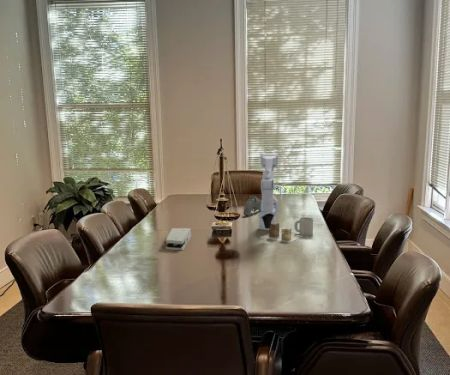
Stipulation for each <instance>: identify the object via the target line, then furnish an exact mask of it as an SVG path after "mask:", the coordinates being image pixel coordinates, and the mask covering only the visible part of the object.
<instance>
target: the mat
mask: <svg viewBox="0 0 450 375" xmlns="http://www.w3.org/2000/svg"><path fill="white" fill-rule="evenodd" d="M281 233H282V231H279V237H278V238H270V237H269V233H268V234H265V235H262V236H259V238H261V239H267V240H273V241H277V242H283V243H292V242H294V241H296V240H298V239H301V238H302V237H304V235H300V234H295V233H291V240H289V241H285V240H281Z"/></svg>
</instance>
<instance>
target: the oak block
mask: <svg viewBox="0 0 450 375" xmlns="http://www.w3.org/2000/svg"><path fill="white" fill-rule="evenodd" d="M281 232H282V233H281V240H285V241H289V240H291V234H292V227H288V226H287V227H285V226H283V227H282V228H281Z"/></svg>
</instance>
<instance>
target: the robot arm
mask: <svg viewBox="0 0 450 375" xmlns="http://www.w3.org/2000/svg"><path fill="white" fill-rule="evenodd" d="M259 155H260V157H259V158H260V160H259V161H260V166H261V168H263V169H264V170H263V171H262V177H261V178H262V179H261V181H260V190H261V200H260V201H261V211H259V212H258V214H257V216H258V228H257V229H258V230H264V231H269V228H270V225H271V223H272V222H275V223H277V217H276V216H277V214H278V213H279V200H278V199H277V198H276V197H275V196H274V189H275V181H274V180H275V179H274V171H275V169H277V168H278V166H279V154H278V153H260V154H259Z"/></svg>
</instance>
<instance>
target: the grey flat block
mask: <svg viewBox="0 0 450 375" xmlns="http://www.w3.org/2000/svg"><path fill="white" fill-rule="evenodd" d="M191 238H192V228H188V227H187V228H185V227H184V228H181V227H180V228H176V227H175V228H173V227H172V228H171V229H170V232H169V233H168V235H167V236H166V239H165V242H166V245H165V248H166V249H167V250H173V251H174V250H175V251H183V250H184V249H185V247H186V245H187V244H188V242H189V240H191Z"/></svg>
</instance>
